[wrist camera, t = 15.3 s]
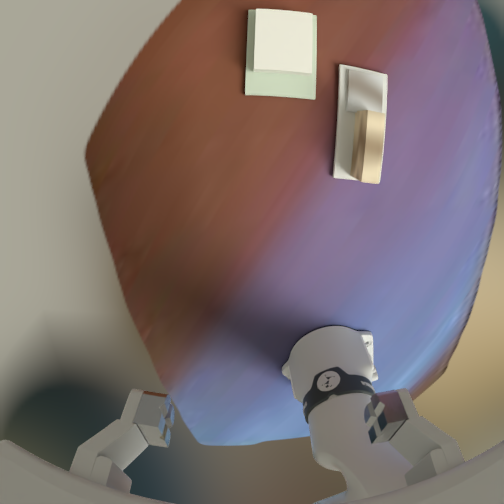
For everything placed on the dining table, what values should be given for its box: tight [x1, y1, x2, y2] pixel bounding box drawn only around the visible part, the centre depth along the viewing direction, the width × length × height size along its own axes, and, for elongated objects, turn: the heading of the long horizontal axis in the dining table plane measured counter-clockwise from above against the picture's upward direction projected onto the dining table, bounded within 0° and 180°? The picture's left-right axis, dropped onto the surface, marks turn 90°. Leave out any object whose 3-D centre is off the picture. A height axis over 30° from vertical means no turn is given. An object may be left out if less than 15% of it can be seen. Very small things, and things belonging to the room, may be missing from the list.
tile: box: [254, 9, 313, 76], centre depth 27 cm, size 2×7×9 cm
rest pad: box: [333, 64, 387, 183], centre depth 33 cm, size 16×7×1 cm, turn 178°
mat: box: [245, 10, 317, 100], centre depth 29 cm, size 13×9×1 cm
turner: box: [346, 69, 385, 184], centre depth 30 cm, size 15×5×4 cm, turn 178°
